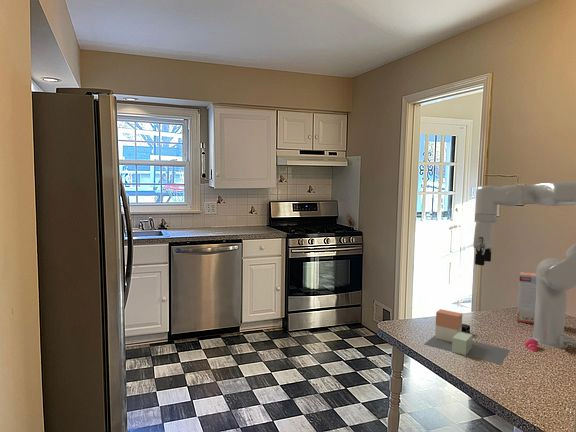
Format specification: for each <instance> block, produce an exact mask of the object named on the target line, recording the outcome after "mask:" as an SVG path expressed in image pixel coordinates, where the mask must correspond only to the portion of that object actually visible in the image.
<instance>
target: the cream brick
mask: <svg viewBox="0 0 576 432" xmlns="http://www.w3.org/2000/svg"><path fill="white" fill-rule="evenodd" d="M459 331H462V327H461V328H460V329H459V330H455V329H450V328H446V327H442V326H437V325H436V324H435V331H434V332H435V333H434V336H435V338H437V339H441V340H445V341H449V342H452V338H453V337H454V336H455V335H456V334H457V333H458V332H459Z"/></svg>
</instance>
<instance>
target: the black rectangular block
mask: <svg viewBox="0 0 576 432" xmlns="http://www.w3.org/2000/svg"><path fill="white" fill-rule="evenodd" d="M461 332H465V333H469V334H471V325H470V324H465V323H462V331H461Z"/></svg>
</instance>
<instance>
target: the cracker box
mask: <svg viewBox="0 0 576 432" xmlns="http://www.w3.org/2000/svg"><path fill="white" fill-rule="evenodd" d="M518 282H519V284H518V297H517V298H518V299H517V311H516V312H517V313H516V314H517V315H516V321H517V323H518V322H519V323H527V324H532V325H534V317H535V303H536V272H526V271H520V273H519V281H518Z"/></svg>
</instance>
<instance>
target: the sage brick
mask: <svg viewBox="0 0 576 432" xmlns="http://www.w3.org/2000/svg"><path fill="white" fill-rule="evenodd" d="M473 335H474V334H473V333H468V332H466V333H465V332H461V331H459V332H458V333H457V334H456V335H455V336H454V337H453V338H452V352H451V353H453V354H458V355H461V354H462V356H465V355H466V354H467V353H468V352H469V351H470V350H471V349H472V341H474V340H473V337H474V336H473Z"/></svg>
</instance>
